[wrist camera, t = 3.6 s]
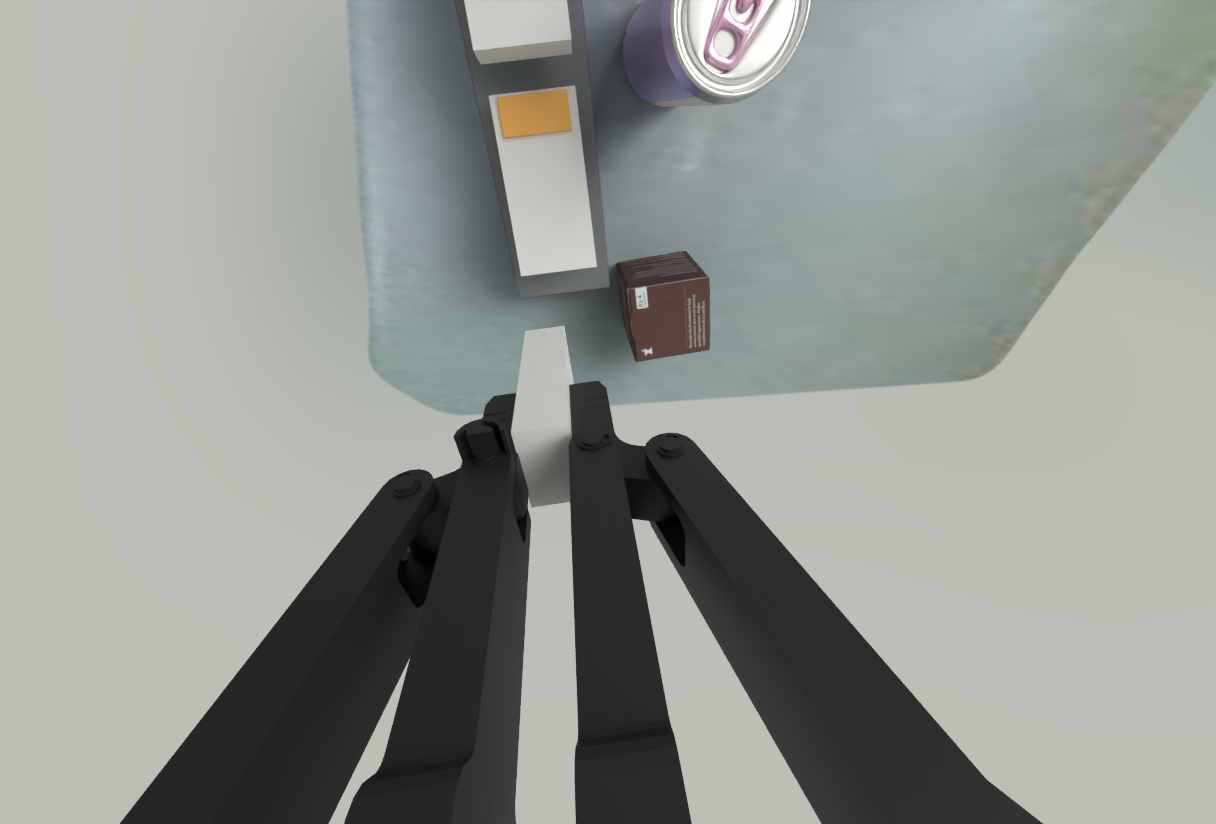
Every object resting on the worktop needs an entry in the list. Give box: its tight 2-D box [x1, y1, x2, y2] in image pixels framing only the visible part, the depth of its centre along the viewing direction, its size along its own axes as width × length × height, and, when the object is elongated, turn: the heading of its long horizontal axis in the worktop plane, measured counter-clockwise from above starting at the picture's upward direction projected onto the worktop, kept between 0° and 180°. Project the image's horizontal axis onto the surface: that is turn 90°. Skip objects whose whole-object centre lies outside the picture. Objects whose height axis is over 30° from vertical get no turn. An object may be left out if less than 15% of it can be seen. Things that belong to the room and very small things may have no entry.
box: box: [617, 251, 710, 362], centre depth 36 cm, size 6×6×7 cm
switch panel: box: [455, 0, 610, 298], centre depth 28 cm, size 25×7×5 cm, turn 6°
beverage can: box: [623, 0, 811, 107], centre depth 23 cm, size 6×6×15 cm
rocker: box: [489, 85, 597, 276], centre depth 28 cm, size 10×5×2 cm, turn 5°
